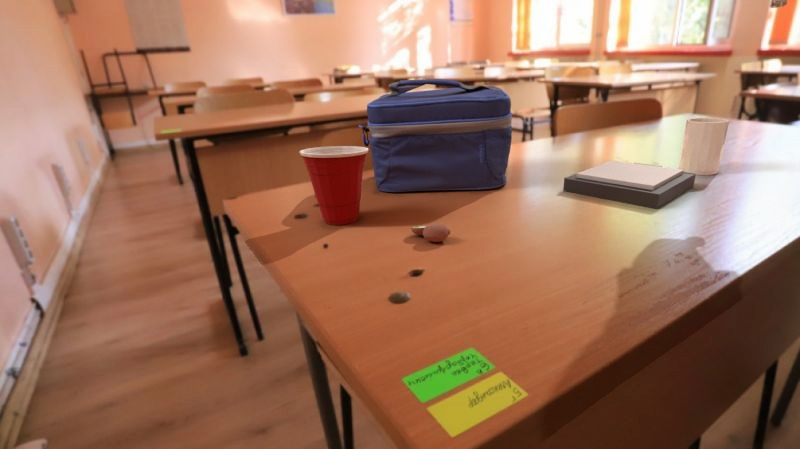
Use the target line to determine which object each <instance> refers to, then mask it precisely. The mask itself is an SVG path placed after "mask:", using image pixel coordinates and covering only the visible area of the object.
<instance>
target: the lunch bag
mask: <svg viewBox="0 0 800 449" xmlns="http://www.w3.org/2000/svg"><path fill="white" fill-rule="evenodd" d="M425 85H430V86H431V85H432V86H443V87H450V88H440V89H427V90H418V91H412V90H415V89H417V88H421V87H422V86H425ZM388 88H389V89H390V91H391V92H390V93H385V94H382V95H381V96H379V97H378V98H376V99H374V100H372V101H370V102H369V103H367V104H366V115H367V119H368V120H367V123H366V124H365V125H361V124H359V125H358V128H359V129H361V131H362V136H361V137H362V142H363V145H364V147H368V146H369V149H370V153H371V154H370V155H371V161H372V168H373V176H374V180H375V187H376V189H377V190H379V191H381V192H384V193H405V192H417V191H418V192H420V191H423V192H424V191H476V190H478V191H479V190H490V189H491V190H492V189H497V188H501V187H502V186H505V185H507V181H508V180H507V176H506V173H507V169H508V167H509V158H510V154H511V146H512V139H513V137H512V134H513V127H512V120H513V118H512V116H513V113H512V110H511V109H512V101H511V97H510V95H509V94H508V93H507V92H505V91H504V90H503V89H502V88H500V87H498V86H495V85H494V86H493V85H482V84H481V85H466V84H464V83H463V82H460V81H458V80H454V79H444V78H443V79H441V78H425V79H424V78H423V79H421V78H419V79H405V80H401V79H400V80H399V81H396V82H392V83H389V84H388Z"/></svg>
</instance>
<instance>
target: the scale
mask: <svg viewBox="0 0 800 449" xmlns="http://www.w3.org/2000/svg"><path fill="white" fill-rule="evenodd" d="M696 176H697V175H696V174H694V173H687V172H684V170H682V169H679V168H672V167H665V166H662V165H658V164H657V165H656V164H649V163H640V162H628V161H627V162H625V161H617V160H607V161H605V162H602V163H600V164H597V165H595V166H592V167H589V168H587V169H584V170H582V171H578V172H577V173H574V174H571V175H568V176H566V177H564V178H563V186H562V187H563V188H562V190H563V192H567V193H573V194H578V195H583V196H587V197H594V198H598V199H603V200H610V201H613V202H619V203H624V204H630V205H635V206H639V207H645V208H649V209H650V208H651V209H655V210H657V209H659V208H661V207H662V206H664V205H666V204H667V203H669V202H671V201H673V200H674V199H676V198H677V197H679V196H681V195H682V194H684V193H685V192H687V191H688V190H691V189H692V188H694V185H695V180H696Z"/></svg>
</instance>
